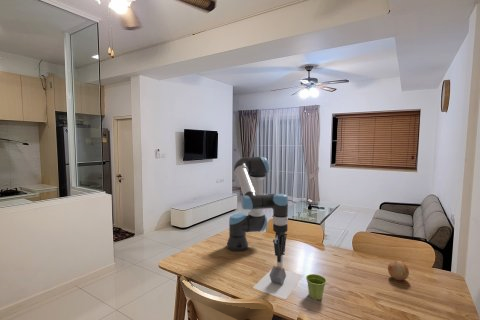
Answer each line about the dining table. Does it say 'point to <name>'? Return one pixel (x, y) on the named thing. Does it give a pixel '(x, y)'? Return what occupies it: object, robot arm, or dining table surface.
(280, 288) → the grip mat
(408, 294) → the dining table surface
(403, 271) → the onion
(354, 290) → the dining table surface
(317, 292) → the plant pot
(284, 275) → the flip cube
